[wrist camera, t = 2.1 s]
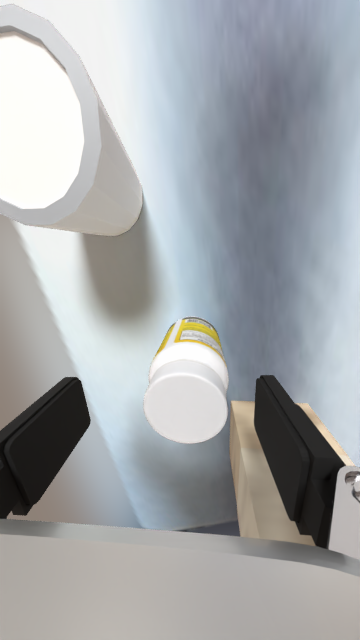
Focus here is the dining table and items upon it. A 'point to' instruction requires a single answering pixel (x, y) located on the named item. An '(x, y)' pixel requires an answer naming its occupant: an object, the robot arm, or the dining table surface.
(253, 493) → the top block
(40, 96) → the white cup
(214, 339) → the supplement bottle
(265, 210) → the dining table surface
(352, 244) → the dining table surface
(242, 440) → the bottom block
